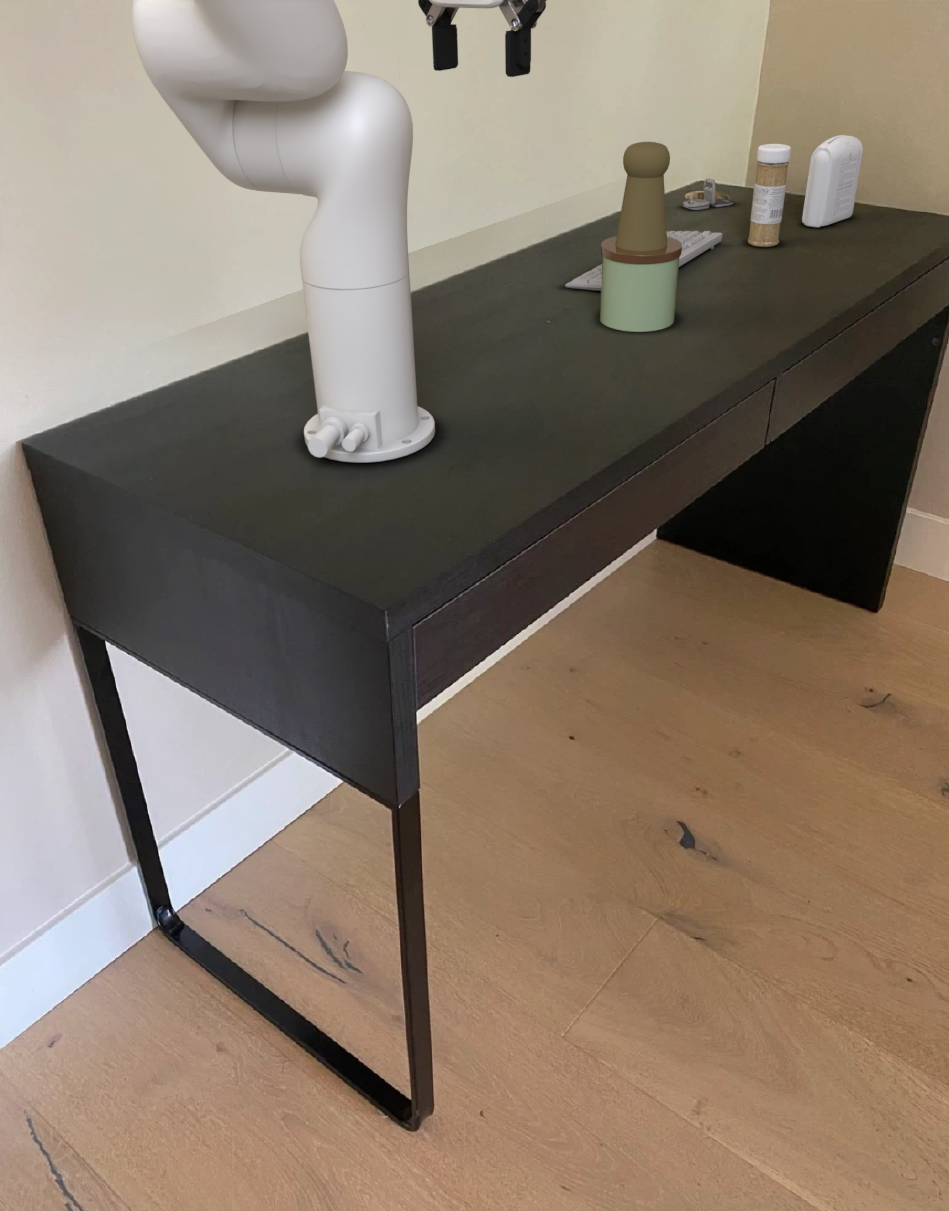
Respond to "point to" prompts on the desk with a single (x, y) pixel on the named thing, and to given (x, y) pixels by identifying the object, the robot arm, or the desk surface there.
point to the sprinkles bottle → (769, 194)
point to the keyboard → (690, 240)
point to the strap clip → (707, 198)
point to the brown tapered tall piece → (644, 198)
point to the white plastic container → (832, 181)
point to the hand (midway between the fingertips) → (481, 71)
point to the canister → (639, 286)
